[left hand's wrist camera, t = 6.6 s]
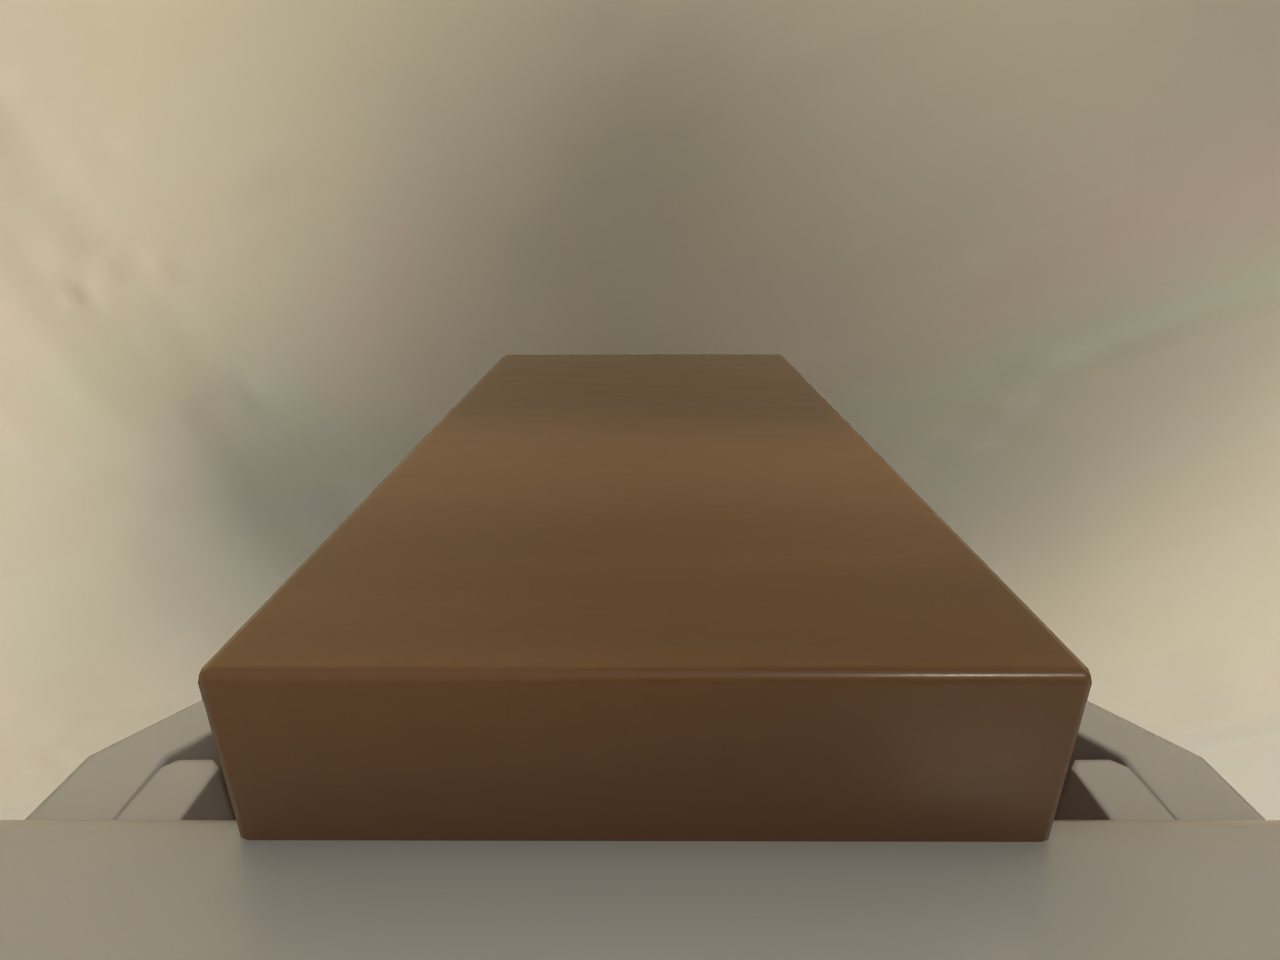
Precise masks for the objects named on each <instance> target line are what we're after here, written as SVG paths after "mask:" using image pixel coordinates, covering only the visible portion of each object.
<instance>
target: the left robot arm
mask: <svg viewBox="0 0 1280 960" xmlns="http://www.w3.org/2000/svg"><path fill="white" fill-rule="evenodd" d="M0 960H1280V820H1265V819H1264V818H1263V817H1262V816H1261V815H1260V814H1259V813H1258V812H1257V811H1256V810H1255V809H1254V808H1253V807H1252V806H1251V805H1250V804H1249V803H1248V802H1247V801H1246V800H1245V799H1244V798H1243V797H1242V796H1241V795H1240V794H1239V793H1238V792H1237V791H1236V790H1235V789H1234V788H1233V787H1232V786H1231V785H1230V784H1229V783H1228V782H1226V781H1225V780H1224V779H1223V778H1222V777H1221V776H1220V775H1219V774H1218V773H1217V772H1216V771H1215V770H1214V769H1213V768H1212V767H1211V766H1210V765H1209V764H1208V763H1207V762H1206V761H1205V760H1204V759H1203V758H1202V757H1200V756H1198V755H1195V754H1193V753H1191V752H1189V751H1187V750H1185V749H1183V748H1181V747H1179V746H1177V745H1175V744H1173V743H1171V742H1169V741H1167V740H1165V739H1163V738H1161V737H1159V736H1157V735H1155V734H1153V733H1151V732H1149V731H1147V730H1145V729H1143V728H1141V727H1139V726H1137V725H1135V724H1133V723H1131V722H1129V721H1127V720H1125V719H1123V718H1121V717H1119V716H1117V715H1115V714H1113V713H1111V712H1109V711H1107V710H1105V709H1103V708H1101V707H1098V706H1096V705H1094V704H1092V703H1090V702H1088V701H1087V702H1086V706H1085V709H1084V713H1083V716H1082V720H1081V724H1080V727H1079V731H1078V734H1077V738H1076V742H1075V745H1074V749H1073V752H1072V756H1071V759H1070V763H1069V767H1068V770H1067V774H1066V777H1065V781H1064V785H1063V788H1062V792H1061V795H1060V799H1059V803H1058V806H1057V810H1056V813H1055V817H1054V820H1053V824H1052V828H1051V831H1050V835H1049V838H1048V840H1045V841H1042V842H836V841H389V840H246V839H244V838H241V836H240V832H239V828H238V825H237V821H236V818H235V814H234V810H233V807H232V803H231V800H230V796H229V792H228V789H227V785H226V782H225V778H224V774H223V771H222V767H221V763H220V760H219V756H218V753H217V749H216V745H215V742H214V738H213V735H212V731H211V727H210V724H209V720H208V717H207V713H206V709H205V706H204V702H203V700H202V701H200V702H198V703H196V704H194V705H192V706H190V707H188V708H186V709H184V710H182V711H180V712H178V713H176V714H174V715H172V716H170V717H168V718H166V719H164V720H162V721H160V722H158V723H156V724H154V725H152V726H150V727H147V728H145V729H143V730H141V731H139V732H137V733H135V734H133V735H131V736H129V737H127V738H125V739H123V740H121V741H119V742H117V743H115V744H113V745H111V746H109V747H107V748H105V749H103V750H101V751H99V752H97V753H95V754H93V755H91V756H89V757H88V758H87V759H86V760H85V761H84V762H83V763H82V764H81V765H80V766H79V767H78V768H77V769H76V770H75V771H74V772H73V773H72V774H71V775H70V776H69V777H68V778H67V779H66V780H65V781H64V782H63V783H62V784H61V785H60V786H59V787H58V788H57V789H56V790H55V791H54V792H53V793H52V794H51V795H50V796H48V797H47V798H46V799H45V800H44V801H43V802H42V803H41V804H40V805H39V806H38V807H37V808H36V809H35V810H34V811H33V812H32V813H31V814H30V815H29V816H28V817H27V818H26V819H25V820H0Z"/></svg>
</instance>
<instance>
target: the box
mask: <svg viewBox="0 0 1280 960" xmlns="http://www.w3.org/2000/svg"><path fill="white" fill-rule="evenodd" d="M198 684H199V688H200V691H201V695H202V699H203V702H204V706H205V709H206V713H207V717H208V720H209V724H210V727H211V731H212V735H213V738H214V742H215V745H216V749H217V753H218V756H219V760H220V763H221V767H222V771H223V774H224V778H225V782H226V785H227V789H228V792H229V796H230V800H231V803H232V807H233V810H234V814H235V818H236V821H237V825H238V828H239V832H240V836H241V838H244V839H246V840H389V841H836V842H1042V841H1045V840H1048V838H1049V835H1050V831H1051V828H1052V824H1053V820H1054V817H1055V813H1056V810H1057V806H1058V803H1059V799H1060V795H1061V792H1062V788H1063V785H1064V781H1065V777H1066V774H1067V770H1068V767H1069V763H1070V759H1071V756H1072V752H1073V749H1074V745H1075V742H1076V738H1077V734H1078V731H1079V727H1080V724H1081V720H1082V716H1083V713H1084V709H1085V706H1086V702H1087V698H1088V695H1089V691H1090V688H1091V684H1092V682H1091V675H1090V672H1089V670H1088V668H1087V667H1086V666H1085V665H1084V664H1083V663H1082V662H1081V661H1080V660H1079V659H1078V658H1077V657H1076V656H1075V655H1074V654H1073V653H1072V652H1071V651H1070V650H1069V649H1068V648H1067V647H1066V646H1065V645H1064V644H1063V643H1062V641H1061V640H1060V639H1059V638H1058V637H1057V636H1056V635H1055V634H1054V633H1053V632H1052V631H1051V630H1050V629H1049V628H1048V627H1047V626H1046V625H1045V624H1044V623H1043V622H1042V621H1041V620H1040V619H1039V618H1038V617H1037V616H1036V615H1035V614H1034V613H1033V612H1032V611H1031V610H1030V609H1029V608H1028V607H1027V606H1026V605H1025V604H1024V603H1023V602H1022V601H1021V600H1020V599H1019V598H1018V597H1017V596H1016V594H1015V593H1014V592H1013V591H1012V590H1011V589H1010V588H1009V587H1008V586H1007V585H1006V584H1005V583H1004V582H1003V581H1002V580H1001V579H1000V578H999V577H998V576H997V575H996V574H995V573H994V572H993V571H992V570H991V569H990V568H989V567H988V566H987V565H986V564H985V563H984V562H983V561H982V560H981V559H980V558H979V557H978V556H977V555H976V554H975V553H974V552H973V551H972V550H971V548H970V547H969V546H968V545H967V544H966V543H965V542H964V541H963V540H962V539H961V538H960V537H959V536H958V535H957V534H956V533H955V532H954V531H953V530H952V529H951V528H950V527H949V526H948V525H947V524H946V523H945V522H944V521H943V520H942V519H941V518H940V517H939V516H938V515H937V514H936V513H935V512H934V511H933V510H932V509H931V508H930V507H929V506H928V505H927V504H926V503H925V501H924V500H923V499H922V498H921V497H920V496H919V495H918V494H917V493H916V492H915V491H914V490H913V489H912V488H911V487H910V486H909V485H908V484H907V483H906V482H905V481H904V480H903V479H902V478H901V477H900V476H899V475H898V474H897V473H896V472H895V471H894V470H893V469H892V468H891V467H890V466H889V465H888V464H887V463H886V462H885V461H884V460H883V459H882V458H881V457H880V455H879V454H878V453H877V452H876V451H875V450H874V449H873V448H872V447H871V446H870V445H869V444H868V443H867V442H866V441H865V440H864V439H863V438H862V437H861V436H860V435H859V434H858V433H857V432H856V431H855V430H854V429H853V428H852V427H851V426H850V425H849V424H848V423H847V422H846V421H845V420H844V419H843V418H842V417H841V416H840V415H839V414H838V413H837V412H836V411H835V410H834V408H833V407H832V406H831V405H830V404H829V403H828V402H827V401H826V400H825V399H824V398H823V397H822V396H821V395H820V394H819V393H818V392H817V391H816V390H815V389H814V388H813V387H812V386H811V385H810V384H809V383H808V382H807V381H806V380H805V379H804V378H803V377H802V376H801V375H800V374H799V373H798V372H797V371H796V370H795V369H794V368H793V367H792V366H791V365H790V364H789V362H788V361H787V360H786V359H785V358H784V357H783V356H781V355H506V356H504V357H503V358H502V359H501V360H500V361H499V362H498V363H497V364H496V365H495V366H494V367H493V368H492V369H491V370H490V371H489V372H488V373H487V374H486V375H485V376H484V377H483V378H482V379H481V380H480V381H479V383H478V384H477V385H476V386H475V387H474V388H473V389H472V390H471V391H470V392H469V393H468V394H467V395H466V396H465V397H464V398H463V399H462V400H461V401H460V402H459V403H458V404H457V405H456V406H455V407H454V408H453V409H452V410H451V411H450V412H449V414H448V415H447V416H446V417H445V418H444V419H443V420H442V421H441V422H440V423H439V424H438V425H437V426H436V427H435V428H434V429H433V430H432V431H431V432H430V433H429V434H428V435H427V436H426V437H425V438H424V439H423V440H422V441H421V442H420V443H419V445H418V446H417V447H416V448H415V449H414V450H413V451H412V452H411V453H410V454H409V455H408V456H407V457H406V458H405V459H404V460H403V461H402V462H401V463H400V464H399V465H398V466H397V467H396V468H395V469H394V470H393V471H392V472H391V473H390V474H389V476H388V477H387V478H386V479H385V480H384V481H383V482H382V483H381V484H380V485H379V486H378V487H377V488H376V489H375V490H374V491H373V492H372V493H371V494H370V495H369V496H368V497H367V498H366V499H365V500H364V501H363V502H362V503H361V504H360V505H359V507H358V508H357V509H356V510H355V511H354V512H353V513H352V514H351V515H350V516H349V517H348V518H347V519H346V520H345V521H344V522H343V523H342V524H341V525H340V526H339V527H338V528H337V529H336V530H335V531H334V532H333V533H332V534H331V535H330V536H329V538H328V539H327V540H326V541H325V542H324V543H323V544H322V545H321V546H320V547H319V548H318V549H317V550H316V551H315V552H314V553H313V554H312V555H311V556H310V557H309V558H308V559H307V560H306V561H305V562H304V563H303V564H302V565H301V566H300V567H299V569H298V570H297V571H296V572H295V573H294V574H293V575H292V576H291V577H290V578H289V579H288V580H287V581H286V582H285V583H284V584H283V585H282V586H281V587H280V588H279V589H278V590H277V591H276V592H275V593H274V594H273V595H272V596H271V597H270V598H269V600H268V601H267V602H266V603H265V604H264V605H263V606H262V607H261V608H260V609H259V610H258V611H257V612H256V613H255V614H254V615H253V616H252V617H251V618H250V619H249V620H248V621H247V622H246V623H245V624H244V625H243V626H242V627H241V628H240V629H239V631H238V632H237V633H236V634H235V635H234V636H233V637H232V638H231V639H230V640H229V641H228V642H227V643H226V644H225V645H224V646H223V647H222V648H221V649H220V650H219V651H218V652H217V653H216V654H215V655H214V656H213V657H212V658H211V659H210V660H209V662H208V663H207V664H206V665H205V666H204V667H203V668H202V669H201V672H200V674H199V681H198Z"/></svg>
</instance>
